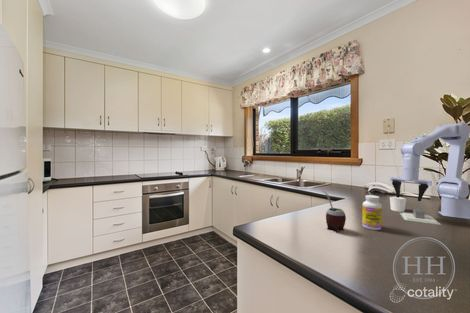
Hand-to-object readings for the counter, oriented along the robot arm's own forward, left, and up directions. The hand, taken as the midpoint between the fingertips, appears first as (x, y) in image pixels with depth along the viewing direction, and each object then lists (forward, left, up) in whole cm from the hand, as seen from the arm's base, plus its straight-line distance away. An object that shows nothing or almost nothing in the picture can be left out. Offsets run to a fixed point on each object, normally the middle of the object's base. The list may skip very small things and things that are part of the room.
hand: (408, 199), depth 94 cm
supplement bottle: (+15, +20, -10) cm, 27 cm away
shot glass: (+2, -15, -10) cm, 18 cm away
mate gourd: (+28, +30, -10) cm, 42 cm away
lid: (-4, -3, -9) cm, 10 cm away
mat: (-4, -3, -9) cm, 11 cm away
